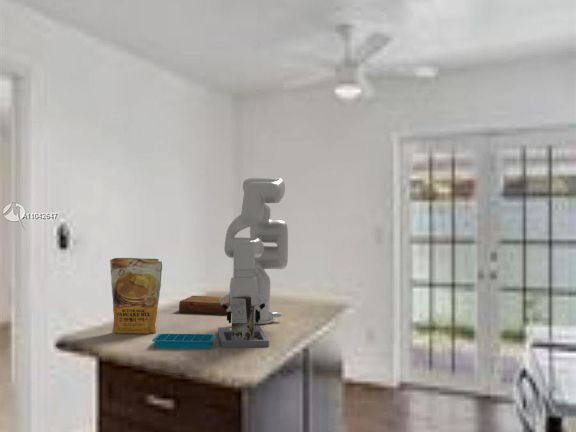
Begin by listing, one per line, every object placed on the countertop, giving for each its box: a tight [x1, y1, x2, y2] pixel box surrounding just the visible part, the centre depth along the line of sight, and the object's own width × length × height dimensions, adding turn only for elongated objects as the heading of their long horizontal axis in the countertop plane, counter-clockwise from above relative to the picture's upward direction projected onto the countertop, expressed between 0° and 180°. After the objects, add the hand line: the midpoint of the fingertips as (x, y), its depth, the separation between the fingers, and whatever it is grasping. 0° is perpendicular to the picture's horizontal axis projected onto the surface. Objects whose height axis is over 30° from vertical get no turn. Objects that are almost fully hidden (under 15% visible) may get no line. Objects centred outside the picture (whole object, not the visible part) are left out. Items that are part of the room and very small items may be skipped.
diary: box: [178, 295, 232, 316], centre depth 270 cm, size 23×19×6 cm
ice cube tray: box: [151, 332, 216, 350], centre depth 201 cm, size 12×20×3 cm, turn 90°
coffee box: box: [230, 297, 255, 341], centre depth 208 cm, size 9×6×16 cm
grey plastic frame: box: [217, 326, 270, 349], centre depth 211 cm, size 16×24×2 cm, turn 10°
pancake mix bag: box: [109, 257, 163, 335], centre depth 221 cm, size 7×19×28 cm, turn 91°
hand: (243, 322), depth 208 cm, fingers open, 9 cm apart
